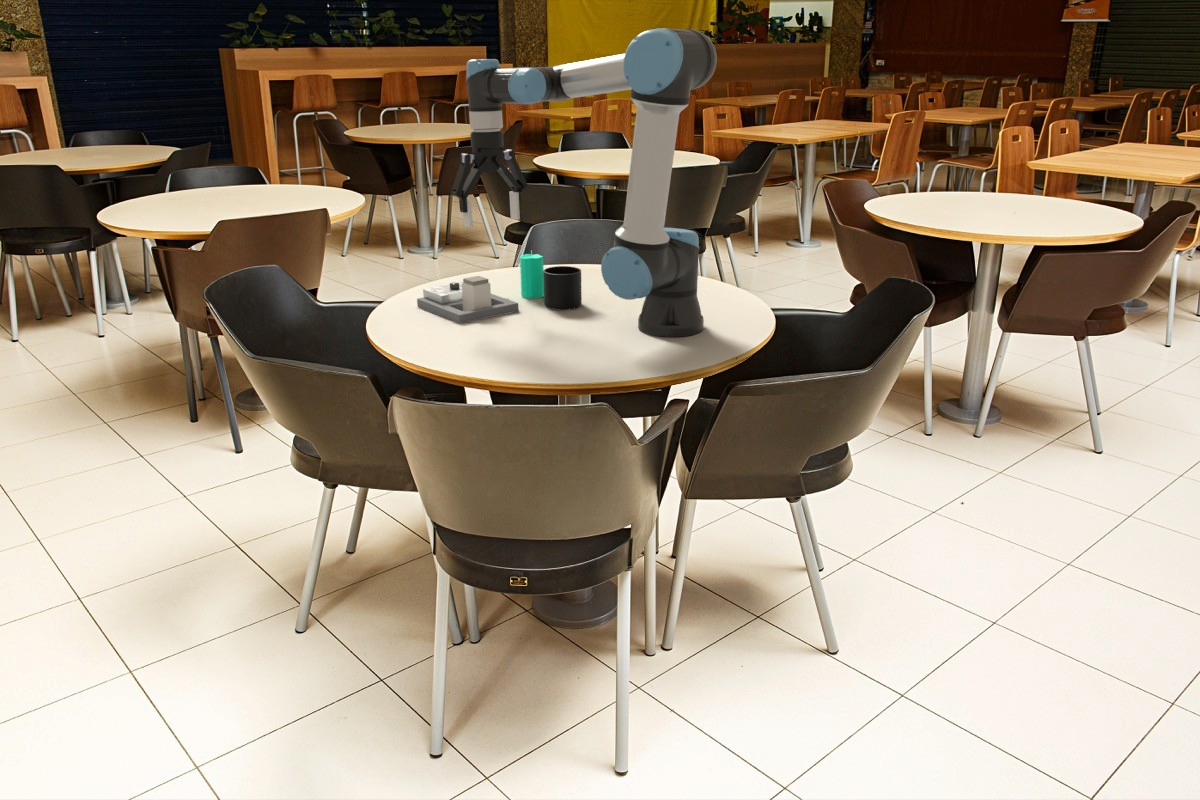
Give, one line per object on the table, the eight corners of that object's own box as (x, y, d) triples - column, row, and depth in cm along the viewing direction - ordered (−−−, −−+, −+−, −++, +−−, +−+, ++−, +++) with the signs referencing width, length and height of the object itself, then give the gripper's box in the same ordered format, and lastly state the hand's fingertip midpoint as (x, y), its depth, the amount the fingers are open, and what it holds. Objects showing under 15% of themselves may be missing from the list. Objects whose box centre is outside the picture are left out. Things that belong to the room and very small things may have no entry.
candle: (543, 298, 241) (542, 252, 236) (520, 298, 241) (518, 252, 236) (544, 292, 246) (543, 247, 242) (522, 292, 246) (520, 247, 242)
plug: (480, 308, 232) (478, 275, 229) (491, 312, 228) (490, 279, 225) (463, 312, 229) (461, 278, 226) (474, 316, 225) (472, 282, 222)
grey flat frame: (518, 310, 229) (518, 303, 229) (459, 323, 219) (459, 315, 219) (474, 295, 244) (474, 287, 243) (417, 306, 234) (416, 298, 233)
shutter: (486, 295, 236) (485, 282, 234) (441, 303, 228) (441, 291, 227) (467, 288, 242) (466, 276, 241) (423, 296, 234) (422, 284, 233)
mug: (584, 298, 241) (584, 264, 237) (579, 310, 230) (579, 275, 226) (548, 297, 241) (547, 263, 238) (541, 310, 230) (540, 274, 227)
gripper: (520, 126, 224) (524, 214, 231) (431, 133, 209) (438, 227, 216) (539, 127, 219) (543, 218, 226) (449, 134, 203) (456, 231, 211)
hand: (492, 222), depth 221 cm, fingers open, 13 cm apart
